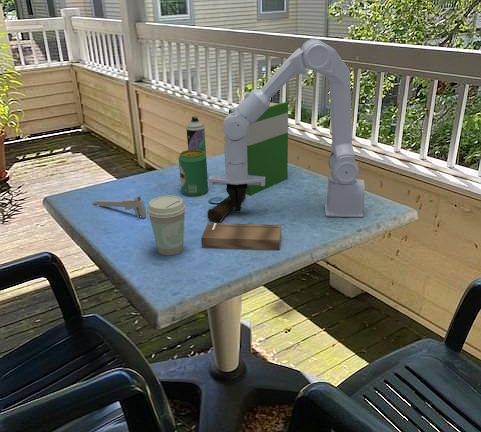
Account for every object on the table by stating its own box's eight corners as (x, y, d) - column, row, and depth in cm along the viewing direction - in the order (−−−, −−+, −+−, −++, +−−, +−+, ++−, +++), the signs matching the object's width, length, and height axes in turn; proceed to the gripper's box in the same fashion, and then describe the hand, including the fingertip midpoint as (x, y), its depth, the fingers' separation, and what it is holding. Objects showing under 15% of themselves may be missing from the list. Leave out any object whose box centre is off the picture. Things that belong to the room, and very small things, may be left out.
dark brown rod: (220, 224, 123) (219, 208, 121) (207, 222, 125) (206, 205, 123) (253, 199, 139) (253, 183, 137) (241, 196, 140) (241, 181, 138)
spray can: (192, 175, 157) (187, 114, 149) (209, 176, 156) (205, 114, 148) (188, 181, 152) (183, 118, 144) (205, 182, 151) (201, 118, 143)
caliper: (146, 218, 128) (144, 196, 126) (143, 220, 128) (141, 198, 125) (94, 203, 139) (91, 183, 136) (91, 205, 138) (88, 184, 135)
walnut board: (281, 234, 117) (281, 224, 116) (279, 249, 110) (279, 239, 109) (208, 232, 119) (207, 222, 118) (201, 247, 112) (201, 237, 111)
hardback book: (269, 174, 156) (268, 99, 146) (287, 179, 152) (288, 102, 142) (231, 190, 145) (228, 110, 135) (250, 195, 140) (248, 113, 130)
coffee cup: (157, 262, 106) (151, 212, 101) (148, 245, 114) (142, 198, 109) (194, 253, 109) (190, 205, 104) (183, 238, 117) (178, 192, 112)
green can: (179, 189, 147) (175, 151, 142) (204, 185, 149) (202, 147, 144) (184, 198, 140) (181, 158, 135) (211, 194, 142) (208, 155, 137)
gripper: (266, 156, 125) (266, 204, 131) (211, 156, 127) (213, 203, 133) (263, 165, 119) (264, 215, 125) (206, 164, 121) (209, 214, 127)
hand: (238, 210), depth 128 cm, fingers closed
